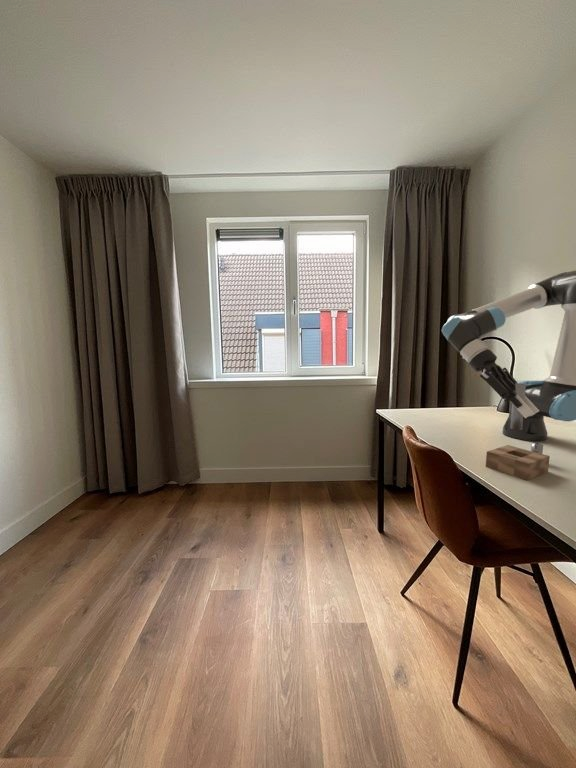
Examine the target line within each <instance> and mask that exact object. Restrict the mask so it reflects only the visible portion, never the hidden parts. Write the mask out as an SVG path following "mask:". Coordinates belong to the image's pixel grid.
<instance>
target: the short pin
mask: <svg viewBox="0 0 576 768" xmlns="http://www.w3.org/2000/svg"><path fill="white" fill-rule="evenodd" d="M530 448H531V450H530V451H532V452H536V453H540V454H543V452H544V444H543V443H540V442H531V447H530Z"/></svg>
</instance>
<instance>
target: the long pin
mask: <svg viewBox="0 0 576 768" xmlns="http://www.w3.org/2000/svg"><path fill="white" fill-rule="evenodd" d="M525 388H526V384H525V383H514V387H513V392H514V393H515V395H516V396H517V395H518V396H519V397H520V398H521V399H522V400H523V401H524V400H525ZM522 424H523V415H522V414H521V413H520V412H519V411H518V410H517V409H516V408H515V406H514V405H513V404H512V413H511V426H510V428H511V429H515V430H522Z"/></svg>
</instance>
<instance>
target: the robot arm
mask: <svg viewBox="0 0 576 768" xmlns="http://www.w3.org/2000/svg"><path fill="white" fill-rule="evenodd" d="M556 305H561V306H560V308H561V309H562V310H563V311H564V315H563V319H562V323H561V327H560V332H559V336H558V339H557V345H556V350H555V353H554V357H553V360H552V365H551V369H550V373H549V376H548V377H546V378H544V379H543V380H516V378H514V376H513V375H512V374H511V373H510V372H509V370H508V369H507V367H503V368H502V367H501V366H500V365H498V364H497V363H496V361H497V359H498V357H497V355H496V354H495V353H494V352H493V351H492V350H491V349H489V347H488V346H487V344H486V343H485V342H484V341H483V340H482V339H480V338H481V337H484V336H486V335H488V334H490V333H492V332H494V331H497V330H498V329H499V328H501V327H503V326H504V325H505V323H506V322H507V321H506V319H507V318H510V317H513V316H515V315H518V314H521V313H524V312H526V311H529V310H531V309H537V310H538V309H542V308H545V307H549V306H556ZM441 333H442V335H443V336H444V337H445V339H446V340H447V342H449V343H450V344H451V346H452V347H453V348H454V349H455V350H456V351H457V352H458V353H459V354H460V356H462V359H463V360H465V361H466V362H467V363H468V364H469V366H470V367H471V368H472V369H473V370H474V371H475V372H481V374H479V378H480V377H481V379H482V380H484V381H485V382H486V383H487V384H488V385H489V386H490V387H491V388H492V389H493V390H494V391H495V392H496V393H497V394H498V396H499V397H500V398H501V399H503V401H504V402H508V401H509V407H508V409H509V410H508V416H507V419H506V421H505V423H504V425H503V427H502V434H503V435H504V436H506V437H509V438H512V439H517V440H521V441H522V440H523V441H531V442H540V441H541V442H543V441H547V439H548V436H549V435H548V433H549V432H548V429H547V426H546V423H545V421H544V419H545V417H546V418H550V419H553V420H555V421H562V422H573V421H576V269H575V270H571V271H566V272H565V271H564V272H560V273H558V274H555V275H552V276H550V277H548V278H546V279H543V280H541V281H539V282H537V283H534V284H531V285H529V286H528V287H527V288H526V289H524V290H522V291H519V292H516V293H514V294H512V295H509V296H506V297H503V298H500V299H498V300H495V301H492V302H490V303H487V304H484V305H482V306H479V307H477V308H474V309H471V310H469V311H466V312H463V313H457V314H453V315H451V316H450V317H448V318H447V321H446V323H444V324H443V326H442V328H441ZM514 383H525V384H526V388H525V400H524V401H523V400H522V399H521V398H520V397H519V396H518V395H517V396H516V395H515V393H514V392H513V387H514ZM512 404H513V405H514V406H515V408H516V409H517V410H518V411H519V412H520V413H521V414H522V415H523V424H522V430H515V429H511V428H510V426H511V413H512Z"/></svg>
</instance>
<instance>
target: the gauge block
mask: <svg viewBox="0 0 576 768" xmlns="http://www.w3.org/2000/svg"><path fill="white" fill-rule="evenodd" d="M485 457H486V458H485V468H489V469H491V470H495V471H498V472H501V473H504V474H507V475H510V476H512V477H516V478H518V479H519V478H520V479H522V480H525V481H530V480H532V479H534V478H536V477H539V476H541V475H544V474H545V473H548V472H549V466H550V465H549V464H550V455H547V454H543V453H542V454H540V453H536V452H532V451H531V450H528V449H524V448H521V447H516V446H512V445H509V444H505V445H503V446H500V447H498V448H494V449H490V450H488V451H486V456H485Z"/></svg>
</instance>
